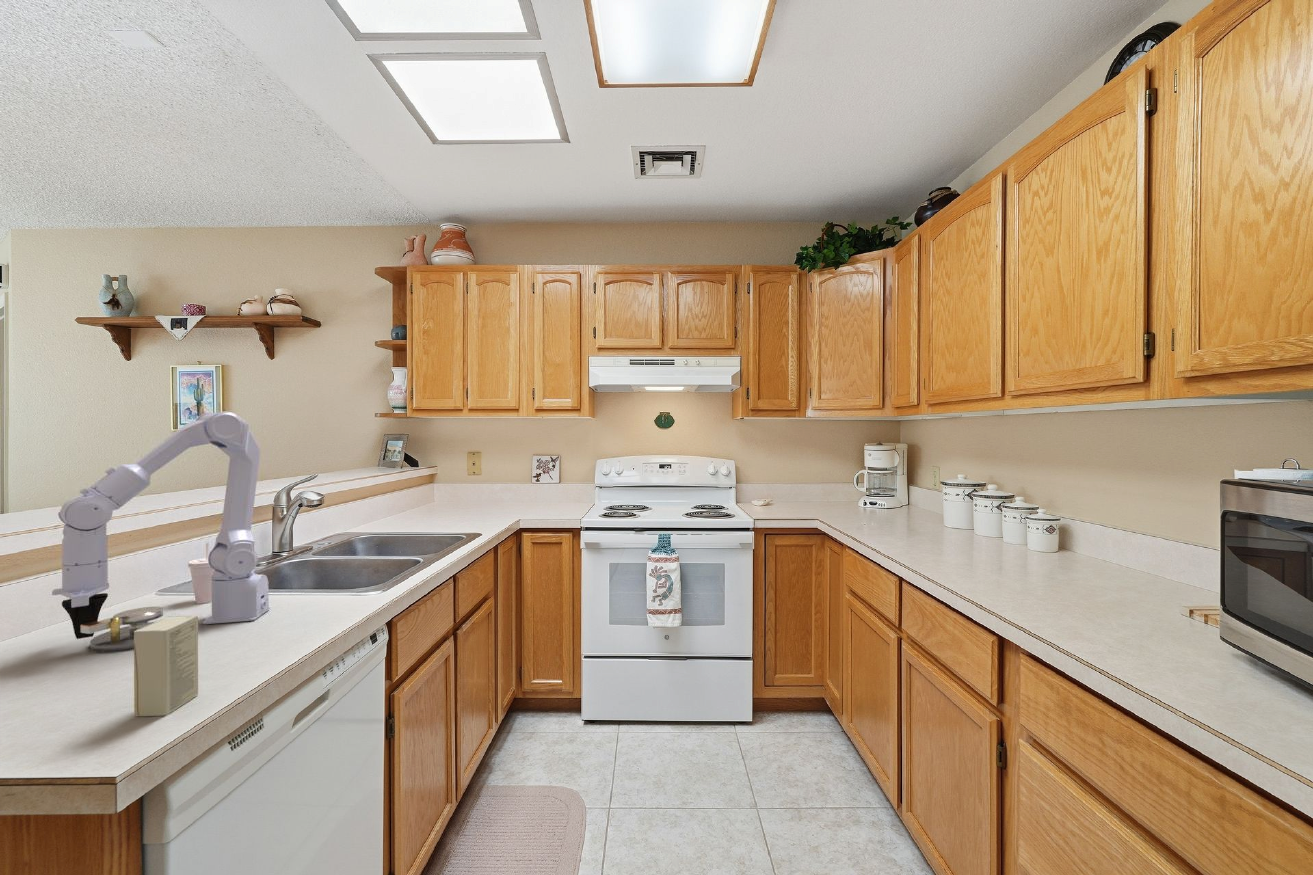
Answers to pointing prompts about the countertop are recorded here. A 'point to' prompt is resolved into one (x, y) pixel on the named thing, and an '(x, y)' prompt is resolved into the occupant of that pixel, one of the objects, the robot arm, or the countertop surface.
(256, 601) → the robot arm
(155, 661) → the skincare box
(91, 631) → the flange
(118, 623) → the base
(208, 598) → the smoothie
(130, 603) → the countertop surface
